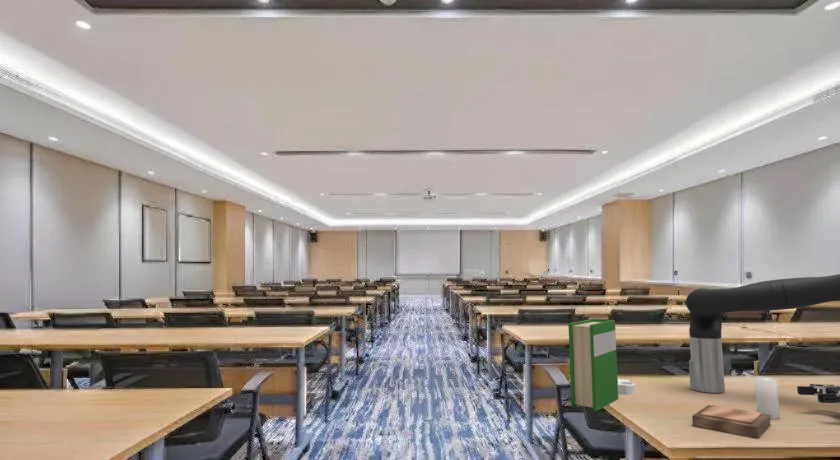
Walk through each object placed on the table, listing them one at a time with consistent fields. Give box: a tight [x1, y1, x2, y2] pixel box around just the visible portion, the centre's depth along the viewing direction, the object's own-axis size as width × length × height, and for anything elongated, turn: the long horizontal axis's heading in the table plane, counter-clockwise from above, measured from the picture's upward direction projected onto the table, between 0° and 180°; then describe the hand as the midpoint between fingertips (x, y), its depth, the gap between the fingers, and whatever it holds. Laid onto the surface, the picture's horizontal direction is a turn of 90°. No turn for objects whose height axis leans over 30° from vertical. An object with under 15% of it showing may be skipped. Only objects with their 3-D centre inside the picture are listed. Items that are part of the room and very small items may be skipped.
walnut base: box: [691, 404, 772, 439], centre depth 125 cm, size 14×14×3 cm
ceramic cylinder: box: [753, 375, 781, 420], centre depth 133 cm, size 5×5×10 cm
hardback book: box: [568, 318, 619, 412], centre depth 149 cm, size 18×7×24 cm, turn 139°
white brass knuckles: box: [617, 378, 636, 395], centre depth 166 cm, size 3×18×15 cm
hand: (807, 394), depth 132 cm, fingers open, 8 cm apart
